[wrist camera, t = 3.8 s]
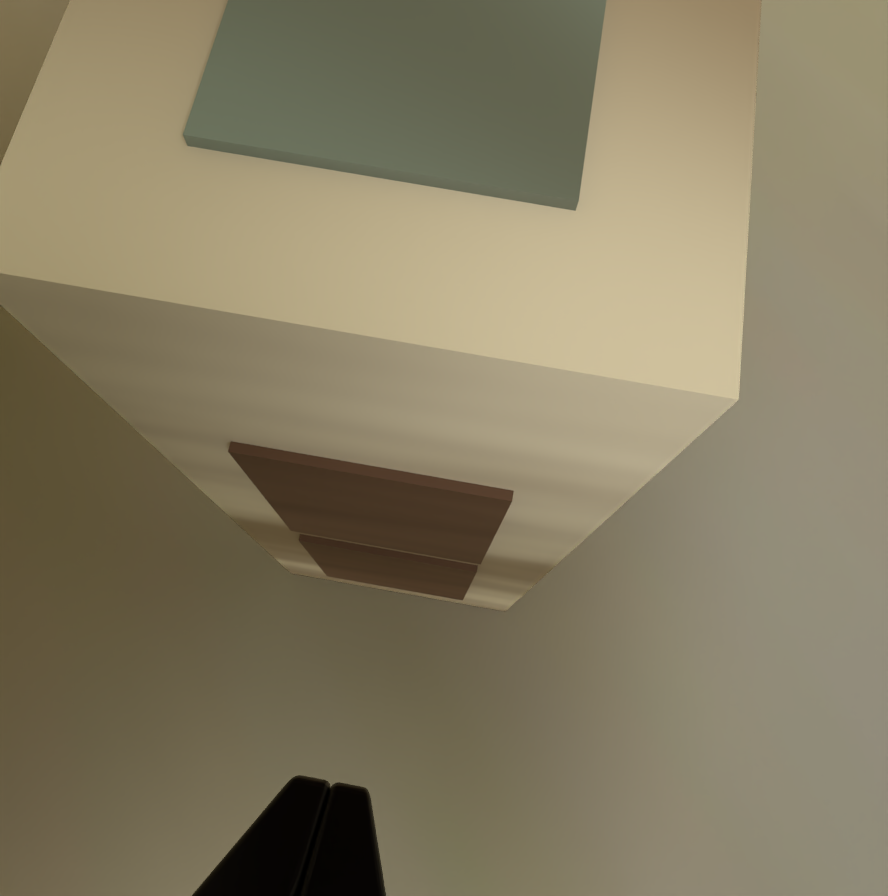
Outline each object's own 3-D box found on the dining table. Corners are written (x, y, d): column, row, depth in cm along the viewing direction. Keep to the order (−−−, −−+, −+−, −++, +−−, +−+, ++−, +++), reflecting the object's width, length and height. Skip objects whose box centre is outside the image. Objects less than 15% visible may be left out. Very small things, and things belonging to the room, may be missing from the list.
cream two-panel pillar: (504, 616, 16) (745, 409, 4) (289, 577, 16) (-60, 273, 4) (534, 409, 17) (776, -174, 6) (336, 375, 17) (170, -267, 6)
